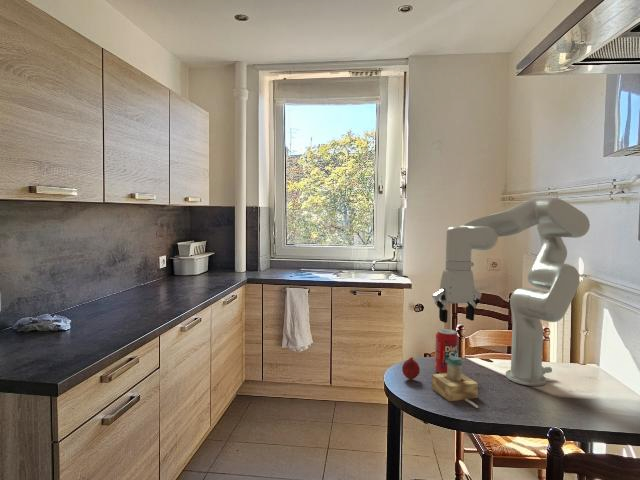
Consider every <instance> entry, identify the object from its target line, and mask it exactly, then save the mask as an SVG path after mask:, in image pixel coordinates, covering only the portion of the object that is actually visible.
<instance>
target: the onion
mask: <svg viewBox="0 0 640 480" xmlns="http://www.w3.org/2000/svg"><path fill="white" fill-rule="evenodd" d="M420 371H421V369H420V364H419V363H418V362H417V361H416V360H415V359H414V357H413V356H409V358H408V359H407V360H405V361H403V365H402V371H401V372H402V374H403V375H404V376H405V378H407V379H408V380H409V381H413V380H414V379H415V378H417V377H418V376H419V374H420Z"/></svg>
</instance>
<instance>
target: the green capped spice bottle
mask: <svg viewBox="0 0 640 480" xmlns="http://www.w3.org/2000/svg"><path fill="white" fill-rule="evenodd" d="M461 374H462V358H460V357H459V356H458V357H456V356H454V357H448V362H447V380H449V381H450V382H452V383H454V382H461Z"/></svg>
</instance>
